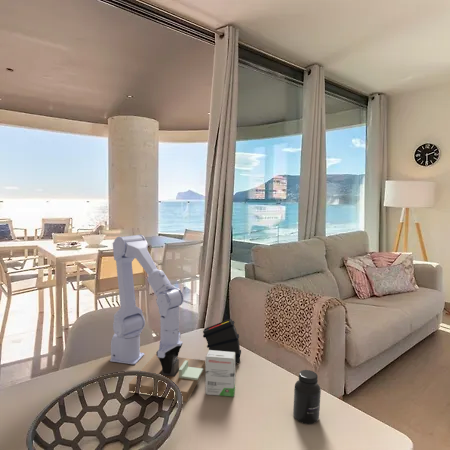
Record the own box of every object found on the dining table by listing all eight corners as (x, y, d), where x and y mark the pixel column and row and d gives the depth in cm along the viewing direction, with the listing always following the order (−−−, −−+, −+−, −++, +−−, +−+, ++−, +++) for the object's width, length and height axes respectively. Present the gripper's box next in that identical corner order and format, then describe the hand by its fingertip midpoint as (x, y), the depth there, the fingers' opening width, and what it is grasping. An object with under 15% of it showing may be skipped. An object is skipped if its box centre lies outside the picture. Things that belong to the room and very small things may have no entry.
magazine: (248, 360, 121) (230, 321, 120) (214, 373, 123) (197, 334, 123) (249, 355, 124) (232, 317, 124) (216, 367, 127) (199, 330, 126)
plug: (162, 381, 109) (162, 360, 108) (167, 375, 112) (166, 354, 112) (174, 383, 108) (174, 361, 107) (178, 376, 112) (178, 355, 111)
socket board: (128, 393, 103) (128, 383, 103) (155, 362, 121) (155, 354, 121) (187, 401, 99) (187, 391, 99) (205, 369, 118) (205, 360, 117)
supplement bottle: (314, 428, 89) (316, 384, 88) (289, 419, 93) (291, 376, 91) (322, 414, 95) (324, 372, 94) (298, 405, 98) (300, 365, 97)
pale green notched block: (178, 377, 106) (178, 369, 106) (185, 368, 112) (185, 360, 112) (197, 380, 105) (197, 372, 105) (203, 370, 111) (203, 362, 110)
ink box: (235, 388, 107) (236, 351, 105) (233, 397, 102) (234, 358, 101) (207, 385, 108) (208, 348, 107) (204, 394, 103) (205, 356, 102)
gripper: (173, 338, 101) (173, 383, 102) (189, 320, 115) (188, 360, 116) (150, 335, 102) (150, 380, 103) (169, 318, 116) (168, 357, 118)
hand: (169, 369), depth 110 cm, fingers closed on plug, 4 cm apart
